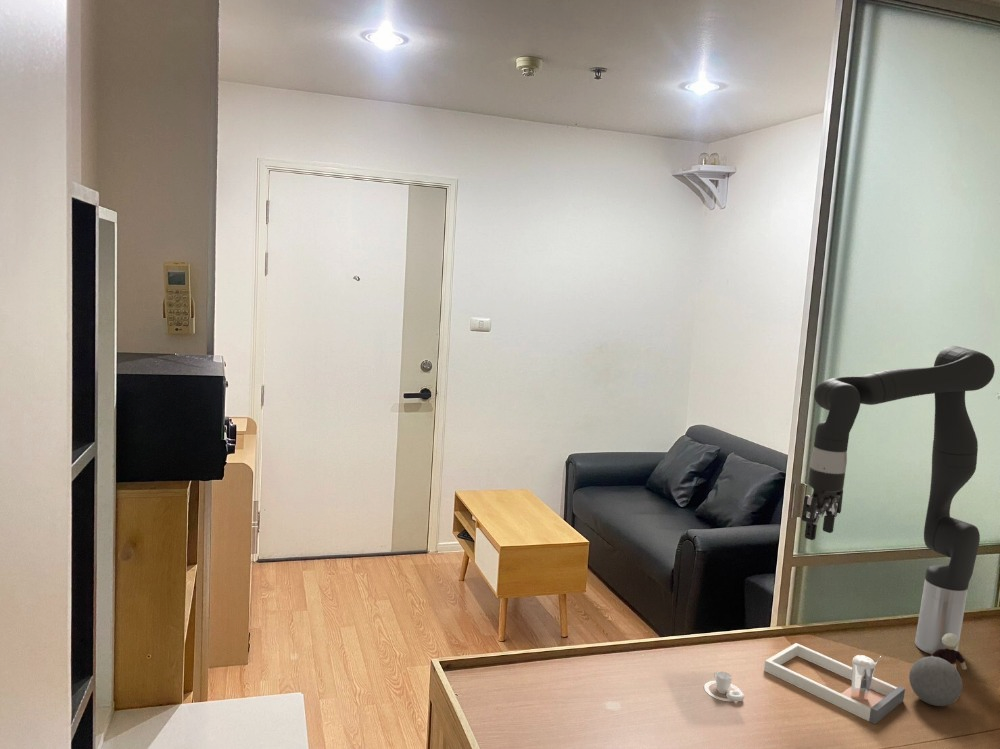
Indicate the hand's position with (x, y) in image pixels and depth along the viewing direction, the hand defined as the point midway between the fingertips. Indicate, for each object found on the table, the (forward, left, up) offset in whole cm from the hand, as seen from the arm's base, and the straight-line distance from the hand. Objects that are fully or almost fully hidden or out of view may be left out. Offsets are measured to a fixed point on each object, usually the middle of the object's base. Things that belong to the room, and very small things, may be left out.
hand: (818, 535), depth 182 cm
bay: (+7, +11, -30) cm, 33 cm away
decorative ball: (-5, +27, -30) cm, 41 cm away
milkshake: (+7, +17, -30) cm, 35 cm away
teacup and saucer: (+32, -2, -31) cm, 45 cm away
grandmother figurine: (-14, +26, -30) cm, 42 cm away
